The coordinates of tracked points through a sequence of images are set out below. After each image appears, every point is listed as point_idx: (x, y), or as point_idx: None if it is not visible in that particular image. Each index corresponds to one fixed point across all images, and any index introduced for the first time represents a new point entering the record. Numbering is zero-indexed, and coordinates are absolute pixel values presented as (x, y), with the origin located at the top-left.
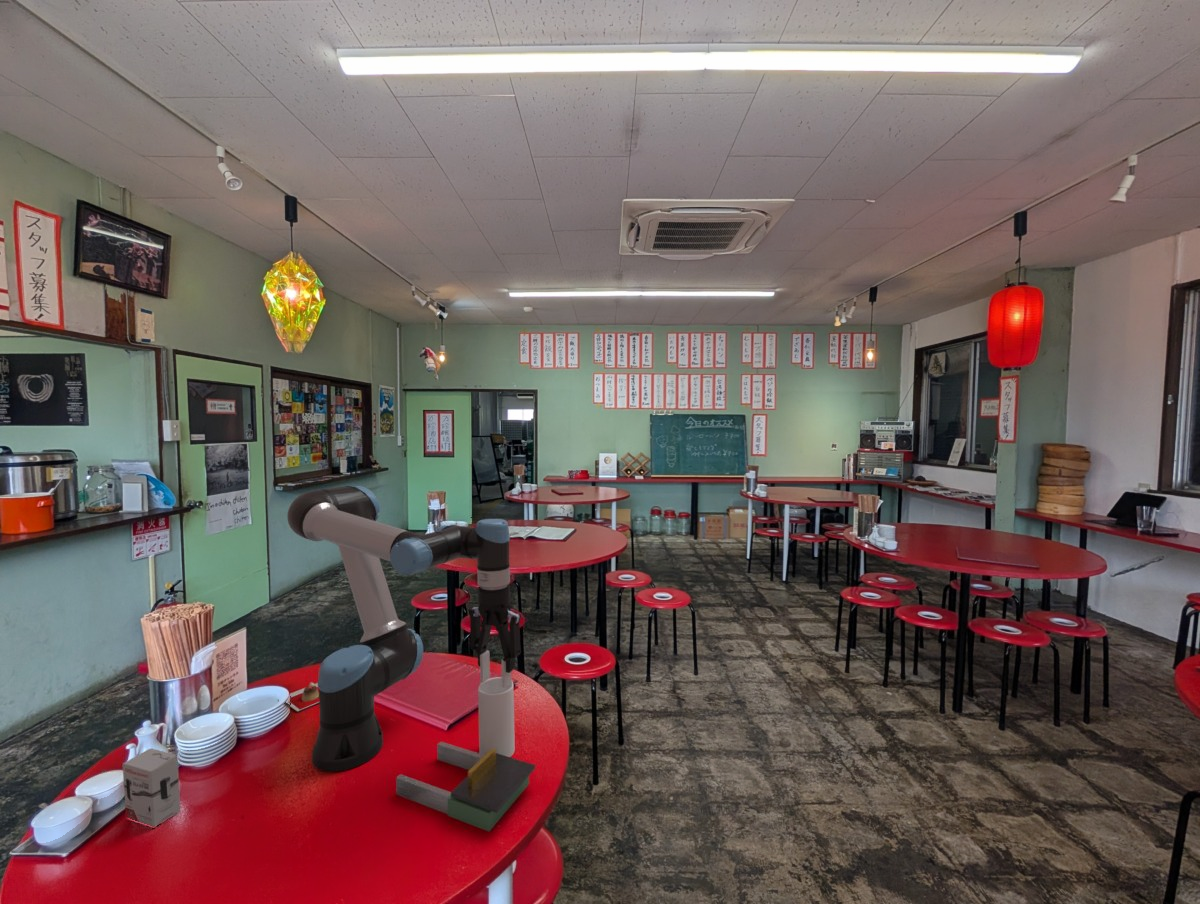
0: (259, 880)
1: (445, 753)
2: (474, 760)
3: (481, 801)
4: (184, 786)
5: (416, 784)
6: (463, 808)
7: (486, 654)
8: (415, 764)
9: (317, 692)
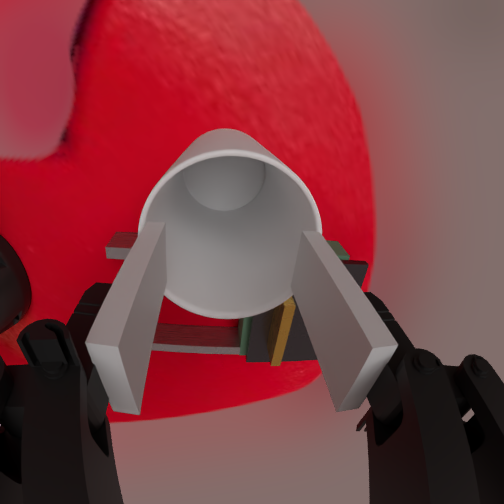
0: (125, 415)
1: None
2: None
3: (305, 358)
4: None
5: (167, 350)
6: None
7: (131, 371)
8: (93, 266)
9: None
